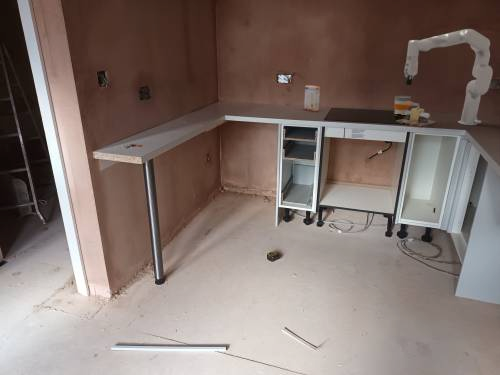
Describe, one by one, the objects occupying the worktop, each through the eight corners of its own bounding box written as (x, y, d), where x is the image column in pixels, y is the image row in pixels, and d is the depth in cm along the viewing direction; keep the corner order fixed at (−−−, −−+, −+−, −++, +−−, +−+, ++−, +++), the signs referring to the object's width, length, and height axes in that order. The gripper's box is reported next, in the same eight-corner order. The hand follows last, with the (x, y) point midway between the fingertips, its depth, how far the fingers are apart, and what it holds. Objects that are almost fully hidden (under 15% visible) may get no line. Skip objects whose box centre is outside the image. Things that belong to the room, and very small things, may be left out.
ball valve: (429, 122, 280) (431, 110, 277) (424, 123, 277) (426, 111, 274) (407, 118, 294) (409, 106, 290) (403, 119, 291) (404, 107, 287)
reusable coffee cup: (401, 116, 307) (404, 98, 301) (389, 114, 317) (391, 96, 311) (411, 115, 312) (414, 96, 307) (399, 112, 322) (401, 95, 317)
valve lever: (420, 108, 282) (421, 103, 280) (418, 109, 280) (418, 103, 279) (407, 106, 290) (408, 101, 289) (405, 106, 289) (405, 101, 287)
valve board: (435, 123, 284) (436, 117, 282) (420, 127, 273) (421, 120, 271) (411, 119, 299) (412, 113, 297) (396, 122, 288) (397, 116, 286)
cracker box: (319, 111, 333) (320, 86, 325) (313, 111, 330) (315, 87, 322) (309, 108, 344) (310, 85, 336) (303, 109, 341) (304, 85, 333)
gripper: (410, 59, 264) (407, 86, 271) (422, 58, 272) (419, 84, 279) (401, 59, 269) (398, 85, 276) (413, 57, 277) (410, 83, 284)
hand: (408, 84), depth 277 cm, fingers closed
